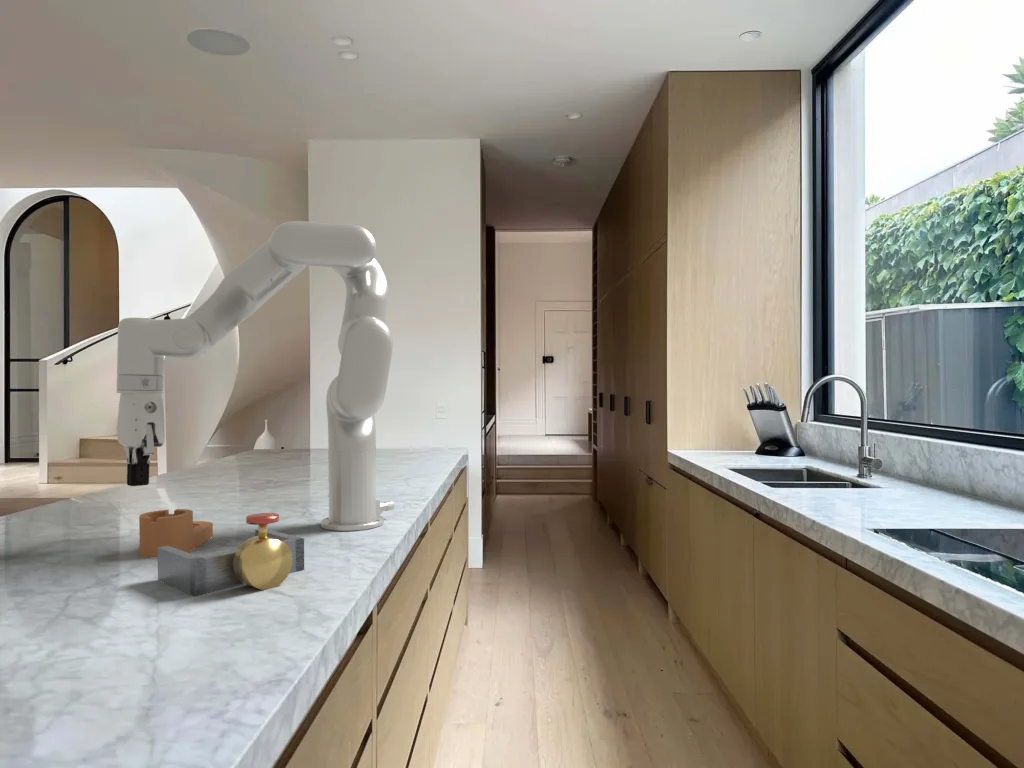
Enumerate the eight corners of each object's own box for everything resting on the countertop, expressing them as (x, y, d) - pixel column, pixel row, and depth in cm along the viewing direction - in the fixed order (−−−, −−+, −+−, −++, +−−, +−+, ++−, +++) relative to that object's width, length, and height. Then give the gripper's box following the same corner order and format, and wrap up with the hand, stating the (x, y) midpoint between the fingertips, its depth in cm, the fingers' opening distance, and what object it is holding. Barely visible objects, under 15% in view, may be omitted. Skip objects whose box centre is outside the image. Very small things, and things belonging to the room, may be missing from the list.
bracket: (181, 558, 114) (181, 517, 114) (130, 560, 113) (130, 518, 113) (219, 534, 132) (218, 499, 132) (175, 536, 131) (174, 500, 131)
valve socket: (263, 558, 113) (263, 497, 113) (322, 576, 102) (322, 508, 102) (157, 581, 100) (157, 512, 100) (212, 604, 89) (211, 527, 89)
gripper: (179, 386, 122) (176, 487, 122) (145, 385, 132) (142, 479, 132) (134, 385, 117) (132, 491, 117) (102, 384, 126) (100, 482, 126)
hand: (137, 484), depth 124 cm, fingers closed
